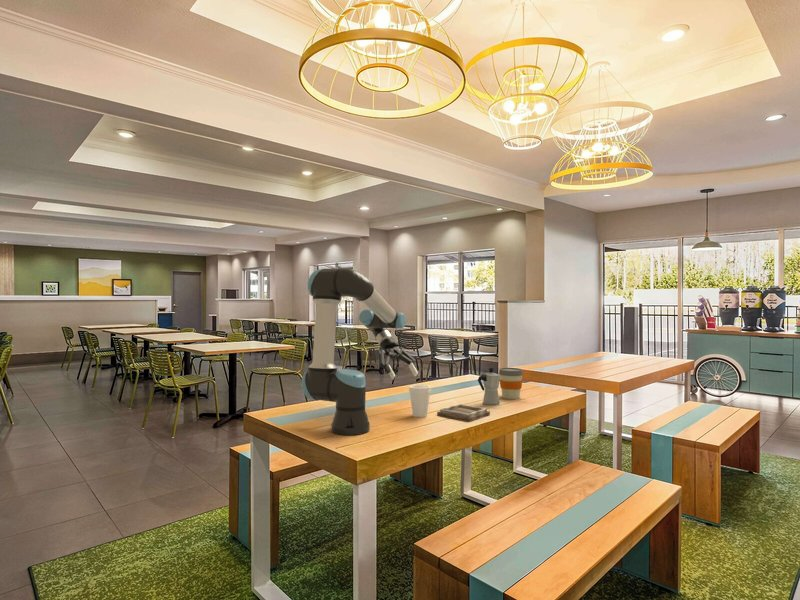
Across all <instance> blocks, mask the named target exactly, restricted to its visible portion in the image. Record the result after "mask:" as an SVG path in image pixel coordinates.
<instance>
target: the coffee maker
mask: <svg viewBox="0 0 800 600" xmlns="http://www.w3.org/2000/svg"><path fill="white" fill-rule="evenodd" d="M488 370H489V372H486V373H482V374H481V375H479V376H478V379H477V382H478V384H479V386H480V388H481V390H482V391H484V395H483V400H482V401H483V402H482V404H483V405H487V406H499V405H500V398H499V390H498V389H499V388H500V387H499V386H500V376H501V375H500V374H499V373H495V372H494V367H488ZM482 381H483V383H482Z"/></svg>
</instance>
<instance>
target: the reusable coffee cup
mask: <svg viewBox="0 0 800 600" xmlns="http://www.w3.org/2000/svg"><path fill="white" fill-rule="evenodd" d="M523 371H524V370H523V369H522V368H518V367H501V368H499V372H498V375H501V376H500V380H499V386H500V387H499V388H500V389H501V395H502V396H501V397H502V398H504V399H509V400H510V399H511V400H515V399H516V400H518V399H520V397H521V389H522V386H523V375H524V374H523V373H524V372H523Z"/></svg>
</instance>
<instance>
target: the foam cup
mask: <svg viewBox="0 0 800 600" xmlns="http://www.w3.org/2000/svg"><path fill="white" fill-rule="evenodd" d="M408 389H409V390H408V391H409V395H410V397H409V398H410V403H411V411H412V412H411V413H412V416H413V417H414V418H426V417H427V416H428V412H429V411H428V410H429V404H430V395H431V386H430V385H428V384H413V385H409V387H408Z"/></svg>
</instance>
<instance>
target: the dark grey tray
mask: <svg viewBox="0 0 800 600" xmlns="http://www.w3.org/2000/svg"><path fill="white" fill-rule="evenodd" d="M490 415H491V411H489V410H488V409H487V408H484V407H479V406H473V405H467V404H462V403H459V404H455V405H451V406H446V407H443V408H441V409H440V410H439V411H437V413H436V416H438V417H442V418H448V419H453V420H458V421H463V422H468V423H470V422H473V421H476V420H479V419H481V418H485V417H487V416H490Z"/></svg>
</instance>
